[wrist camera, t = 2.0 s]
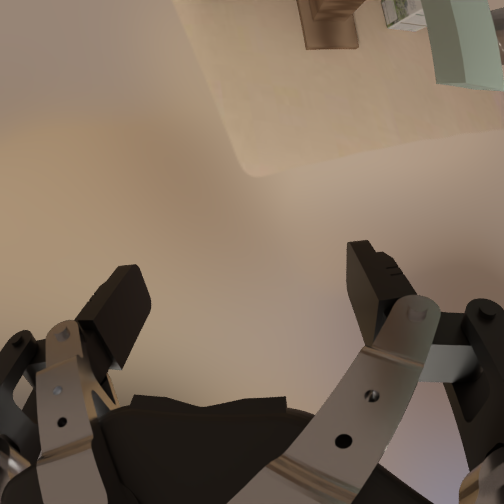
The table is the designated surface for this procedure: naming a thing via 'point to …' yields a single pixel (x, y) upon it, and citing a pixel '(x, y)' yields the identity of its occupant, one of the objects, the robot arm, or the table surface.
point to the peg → (464, 44)
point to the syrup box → (404, 14)
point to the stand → (328, 23)
